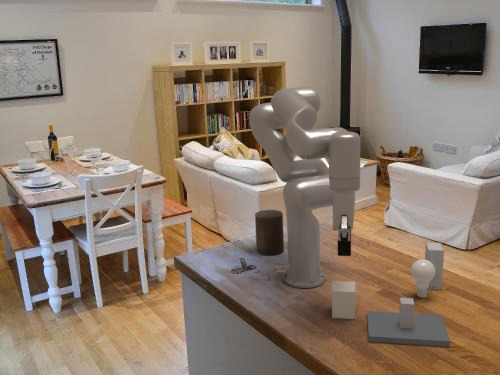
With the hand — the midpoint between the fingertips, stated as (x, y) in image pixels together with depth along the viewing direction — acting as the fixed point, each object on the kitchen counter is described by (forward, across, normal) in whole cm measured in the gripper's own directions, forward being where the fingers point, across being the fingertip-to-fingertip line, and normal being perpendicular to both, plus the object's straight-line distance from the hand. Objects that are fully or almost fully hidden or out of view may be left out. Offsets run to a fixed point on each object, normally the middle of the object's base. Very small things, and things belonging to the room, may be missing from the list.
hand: (344, 248), depth 126 cm
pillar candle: (+18, -41, -26) cm, 52 cm away
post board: (+18, +7, +15) cm, 25 cm away
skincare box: (+18, -19, +25) cm, 36 cm away
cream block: (+18, 0, 0) cm, 18 cm away
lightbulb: (+18, -11, +21) cm, 30 cm away
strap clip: (+18, -24, -32) cm, 44 cm away
